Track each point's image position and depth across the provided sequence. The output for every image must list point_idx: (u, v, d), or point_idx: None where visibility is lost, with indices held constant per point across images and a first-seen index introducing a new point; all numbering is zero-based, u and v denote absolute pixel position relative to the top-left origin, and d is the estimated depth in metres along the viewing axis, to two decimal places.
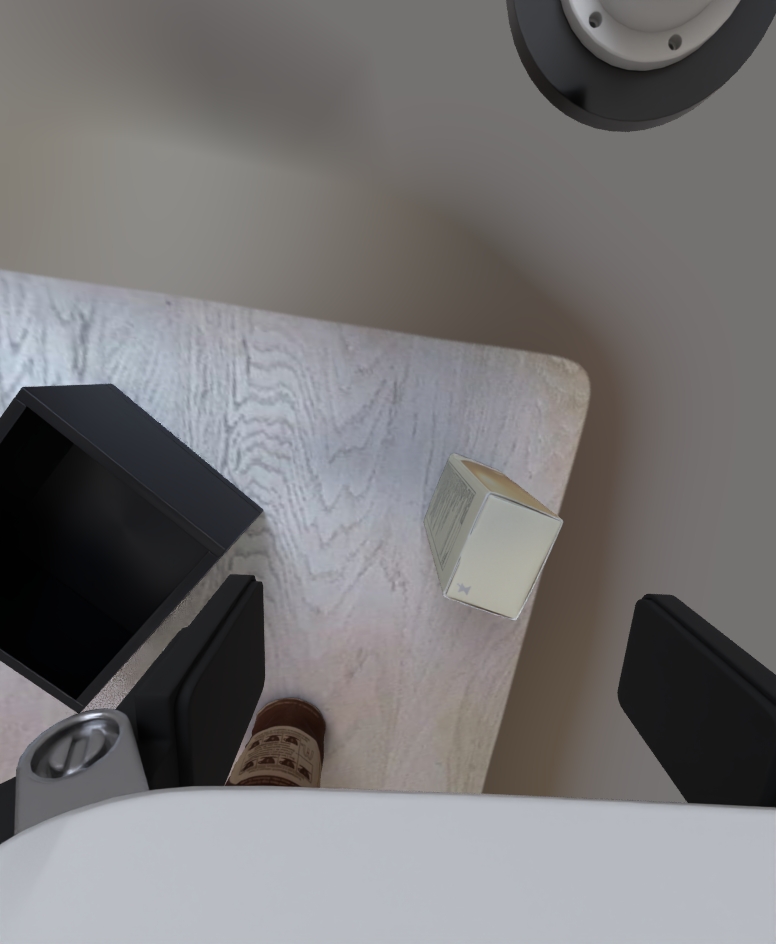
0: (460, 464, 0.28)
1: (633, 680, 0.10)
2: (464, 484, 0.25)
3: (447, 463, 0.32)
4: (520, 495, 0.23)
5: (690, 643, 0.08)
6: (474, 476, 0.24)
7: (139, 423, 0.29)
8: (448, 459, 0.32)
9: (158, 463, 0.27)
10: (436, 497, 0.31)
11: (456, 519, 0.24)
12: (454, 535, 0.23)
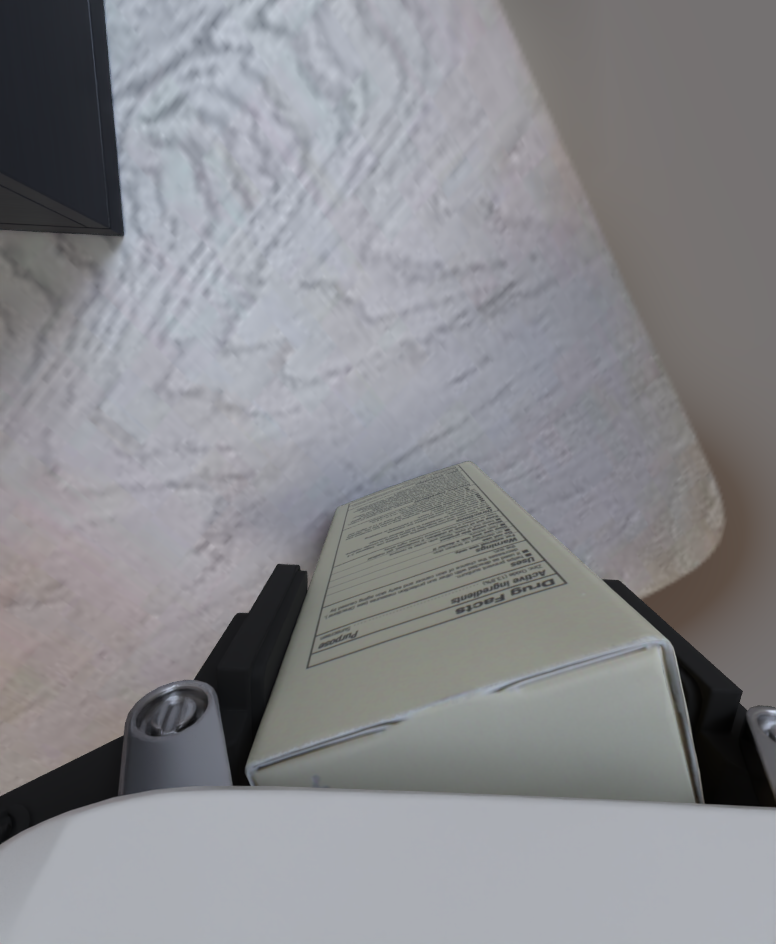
0: (497, 487, 0.13)
1: None
2: (506, 529, 0.10)
3: (454, 467, 0.17)
4: None
5: None
6: (553, 537, 0.09)
7: None
8: (460, 464, 0.17)
9: None
10: (394, 495, 0.16)
11: (441, 583, 0.08)
12: (411, 616, 0.08)
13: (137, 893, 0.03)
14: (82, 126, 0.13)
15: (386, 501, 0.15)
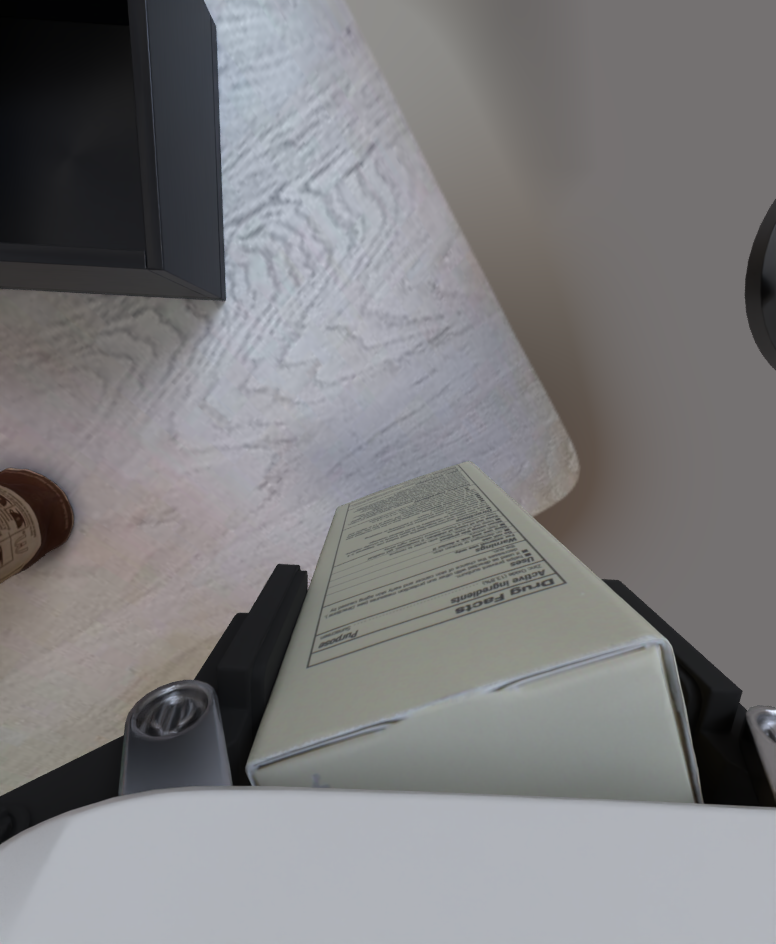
0: (497, 487, 0.13)
1: None
2: (505, 529, 0.10)
3: (454, 467, 0.17)
4: None
5: None
6: (553, 537, 0.09)
7: (203, 84, 0.22)
8: (459, 464, 0.17)
9: (184, 128, 0.20)
10: (394, 495, 0.16)
11: (440, 583, 0.08)
12: (411, 616, 0.08)
13: (137, 893, 0.03)
14: (213, 248, 0.24)
15: (386, 501, 0.15)
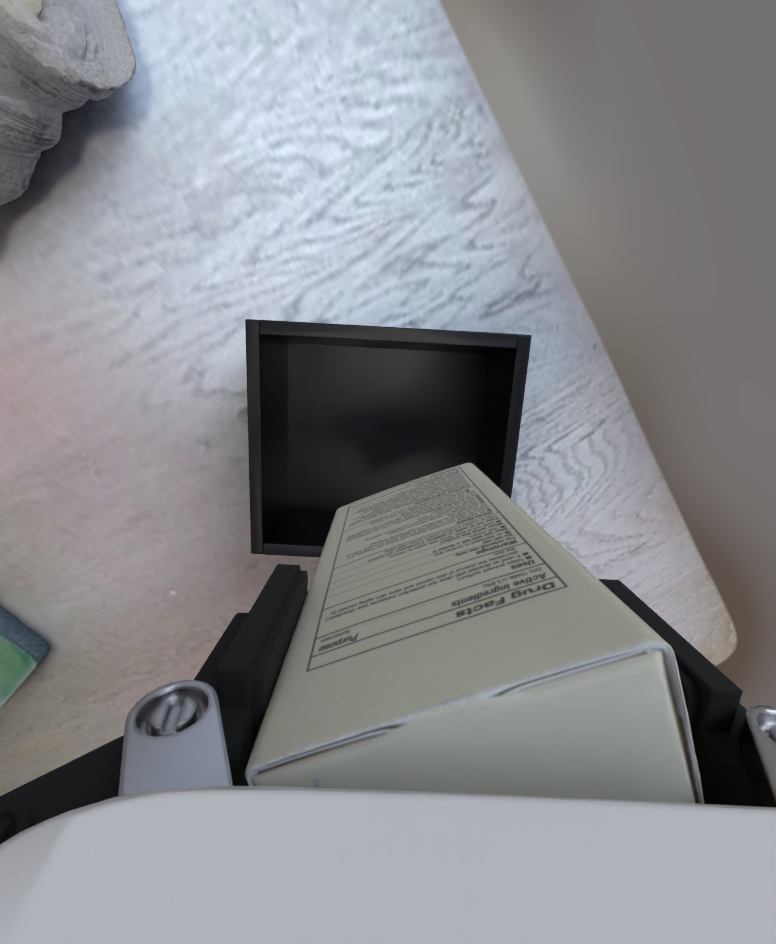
0: (497, 489, 0.13)
1: None
2: (506, 531, 0.10)
3: (454, 469, 0.17)
4: None
5: None
6: (554, 539, 0.09)
7: None
8: (460, 465, 0.17)
9: None
10: (394, 496, 0.16)
11: (441, 586, 0.08)
12: (411, 619, 0.08)
13: (137, 893, 0.03)
14: None
15: (386, 502, 0.15)
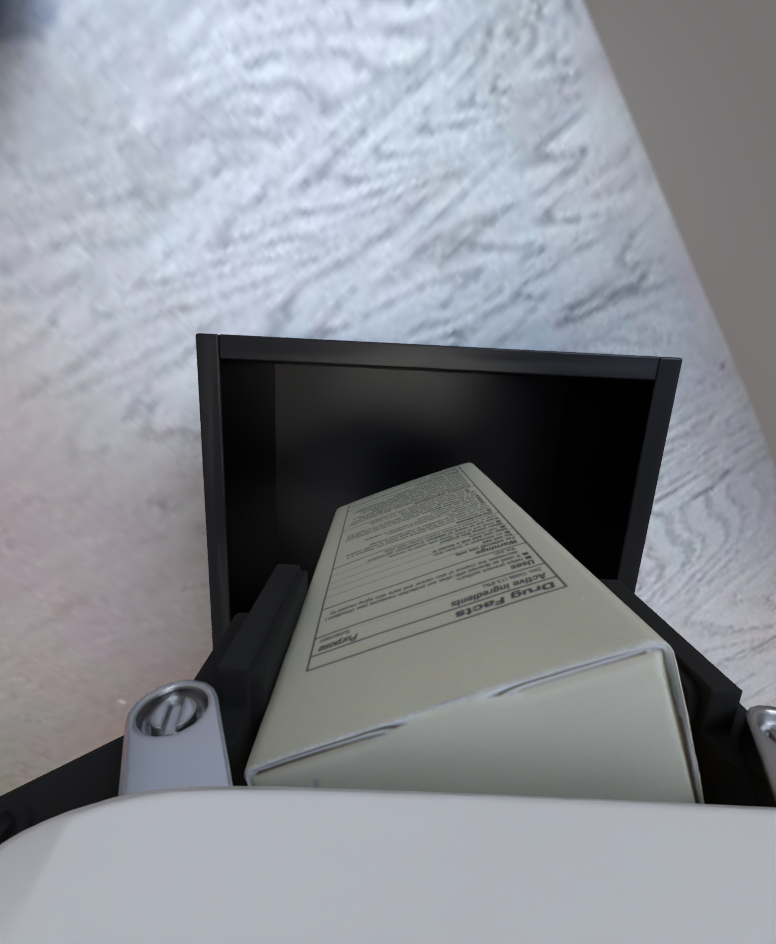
0: (497, 489, 0.13)
1: None
2: (506, 531, 0.10)
3: (454, 468, 0.17)
4: None
5: None
6: (553, 539, 0.09)
7: None
8: (460, 465, 0.17)
9: None
10: (394, 496, 0.16)
11: (441, 586, 0.08)
12: (411, 619, 0.08)
13: (137, 893, 0.03)
14: None
15: (386, 502, 0.15)
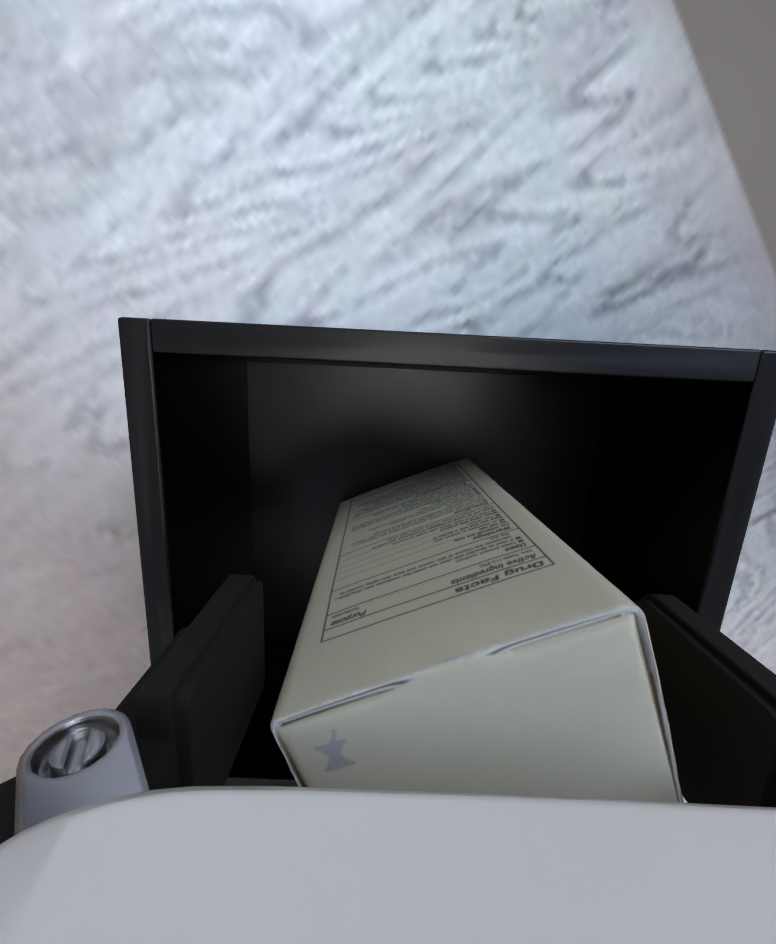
0: (493, 482, 0.14)
1: None
2: (500, 519, 0.11)
3: (452, 464, 0.17)
4: None
5: (689, 643, 0.08)
6: (544, 525, 0.10)
7: None
8: (457, 461, 0.18)
9: None
10: (395, 490, 0.17)
11: (441, 567, 0.09)
12: (415, 596, 0.08)
13: (137, 893, 0.03)
14: None
15: (387, 496, 0.16)
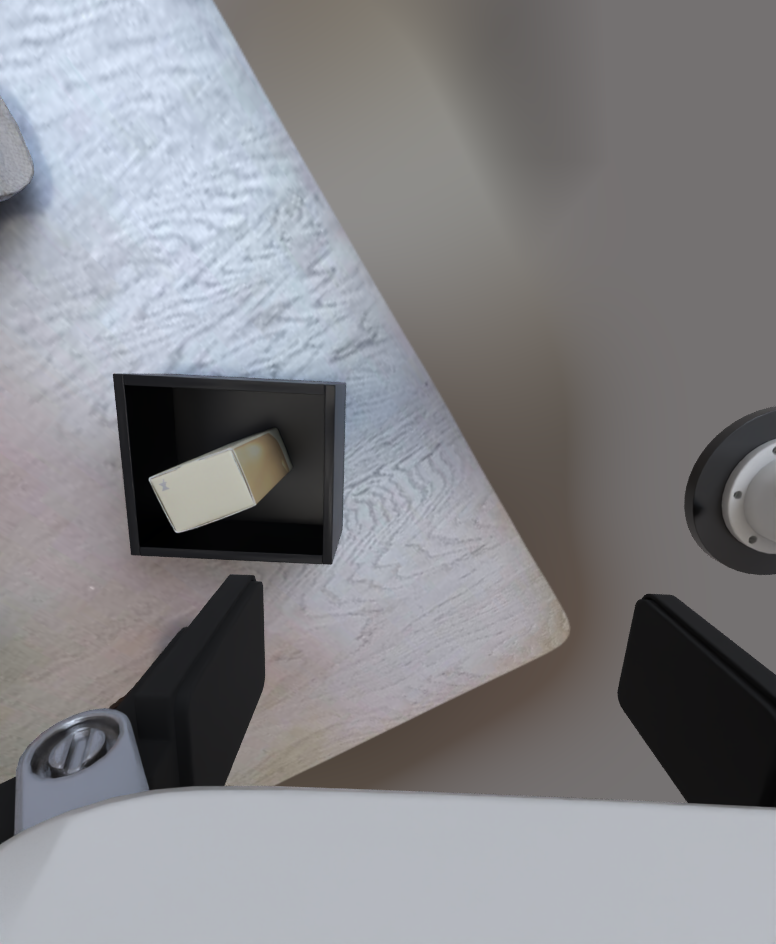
0: (262, 433, 0.34)
1: (633, 680, 0.10)
2: (242, 441, 0.31)
3: (266, 430, 0.38)
4: (259, 475, 0.30)
5: (689, 643, 0.08)
6: (249, 440, 0.30)
7: (342, 428, 0.37)
8: None
9: (338, 472, 0.35)
10: (237, 441, 0.37)
11: (212, 452, 0.30)
12: (198, 457, 0.29)
13: (137, 893, 0.03)
14: (341, 511, 0.40)
15: None
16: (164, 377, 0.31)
